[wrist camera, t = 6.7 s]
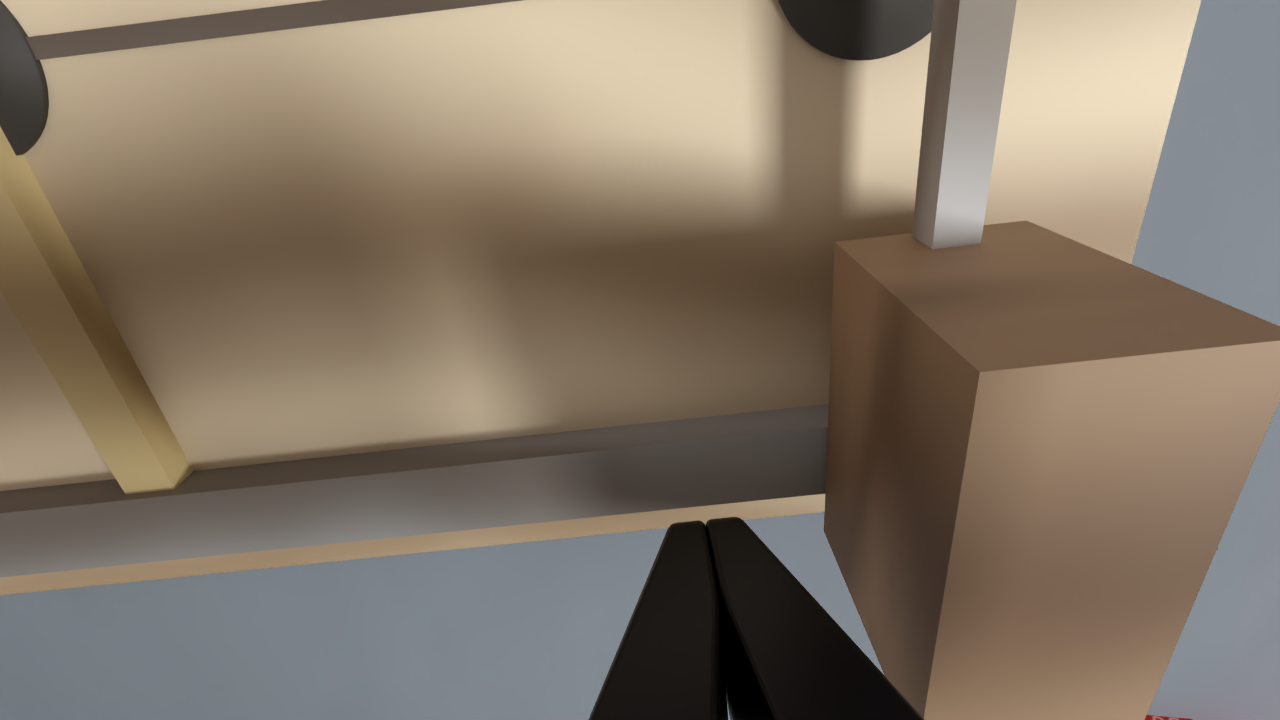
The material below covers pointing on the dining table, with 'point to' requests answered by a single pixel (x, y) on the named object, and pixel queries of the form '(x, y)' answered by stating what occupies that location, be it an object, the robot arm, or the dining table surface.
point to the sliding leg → (1025, 433)
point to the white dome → (1163, 718)
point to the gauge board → (477, 257)
